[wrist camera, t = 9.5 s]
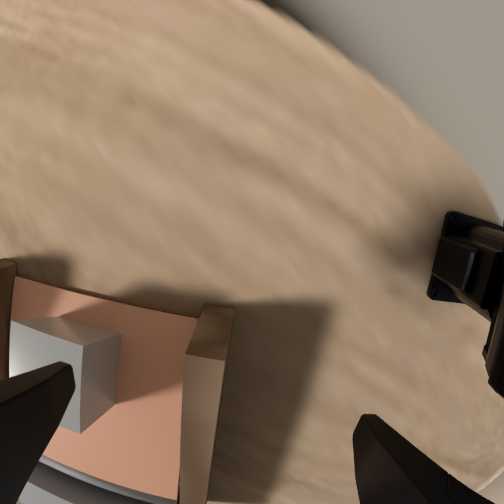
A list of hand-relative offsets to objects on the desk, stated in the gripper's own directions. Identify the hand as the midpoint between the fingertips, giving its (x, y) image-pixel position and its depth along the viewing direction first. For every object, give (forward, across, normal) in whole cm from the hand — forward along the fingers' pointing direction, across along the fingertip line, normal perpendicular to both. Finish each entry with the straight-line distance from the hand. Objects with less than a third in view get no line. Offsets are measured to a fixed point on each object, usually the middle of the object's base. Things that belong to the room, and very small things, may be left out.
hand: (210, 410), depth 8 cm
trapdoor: (+11, +11, +14) cm, 21 cm away
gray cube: (+10, +10, +8) cm, 16 cm away
